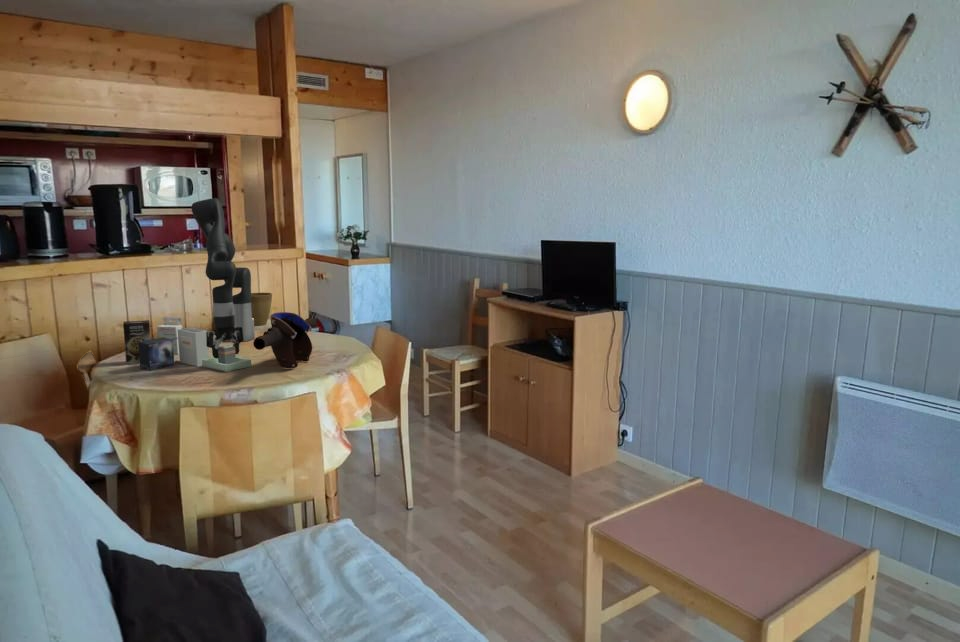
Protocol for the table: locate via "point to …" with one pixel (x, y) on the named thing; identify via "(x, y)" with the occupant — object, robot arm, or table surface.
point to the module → (226, 354)
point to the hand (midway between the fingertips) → (226, 355)
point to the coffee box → (135, 339)
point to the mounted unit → (192, 346)
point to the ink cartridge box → (170, 331)
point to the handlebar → (288, 338)
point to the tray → (215, 365)
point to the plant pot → (260, 307)
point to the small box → (156, 353)
